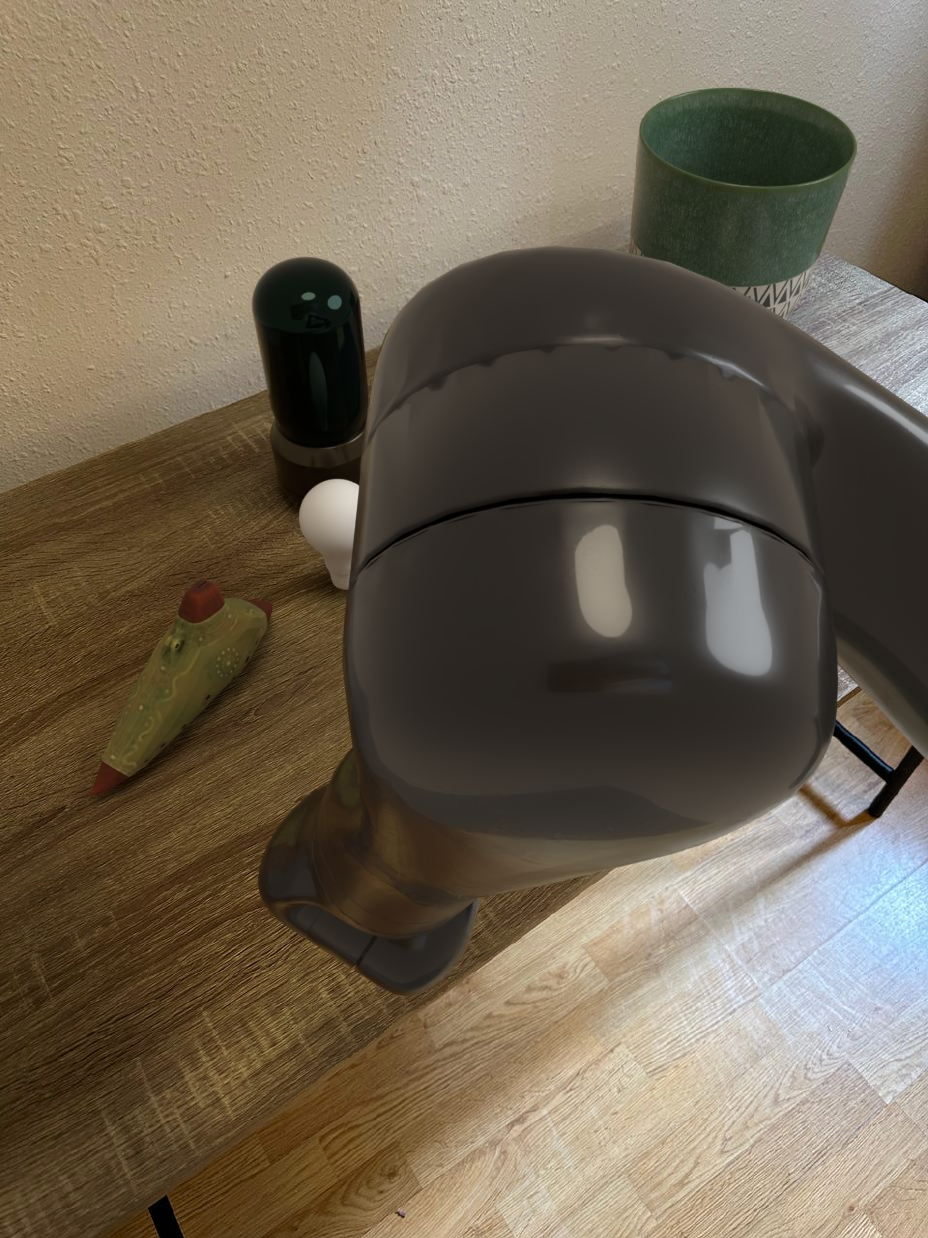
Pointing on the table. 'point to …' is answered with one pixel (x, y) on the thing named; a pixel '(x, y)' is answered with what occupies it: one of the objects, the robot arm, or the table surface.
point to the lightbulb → (331, 525)
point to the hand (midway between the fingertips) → (627, 469)
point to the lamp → (312, 371)
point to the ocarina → (183, 676)
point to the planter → (740, 188)
